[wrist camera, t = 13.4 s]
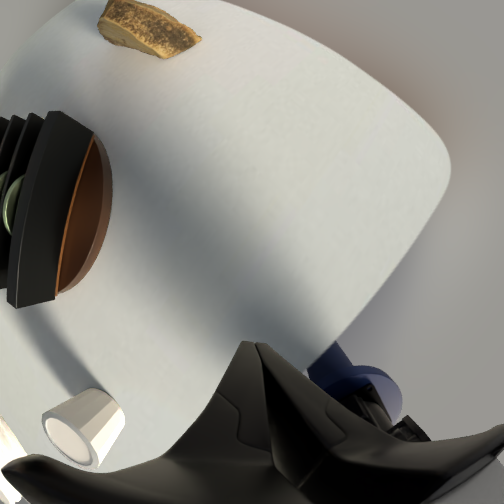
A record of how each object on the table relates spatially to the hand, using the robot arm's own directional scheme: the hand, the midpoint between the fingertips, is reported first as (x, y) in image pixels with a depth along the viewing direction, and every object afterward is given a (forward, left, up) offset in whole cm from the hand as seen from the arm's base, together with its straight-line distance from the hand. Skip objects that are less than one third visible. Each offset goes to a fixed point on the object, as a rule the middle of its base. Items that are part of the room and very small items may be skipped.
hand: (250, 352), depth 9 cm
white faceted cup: (-3, +21, -12) cm, 25 cm away
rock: (+28, -4, -12) cm, 31 cm away
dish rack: (+18, +14, -10) cm, 25 cm away
